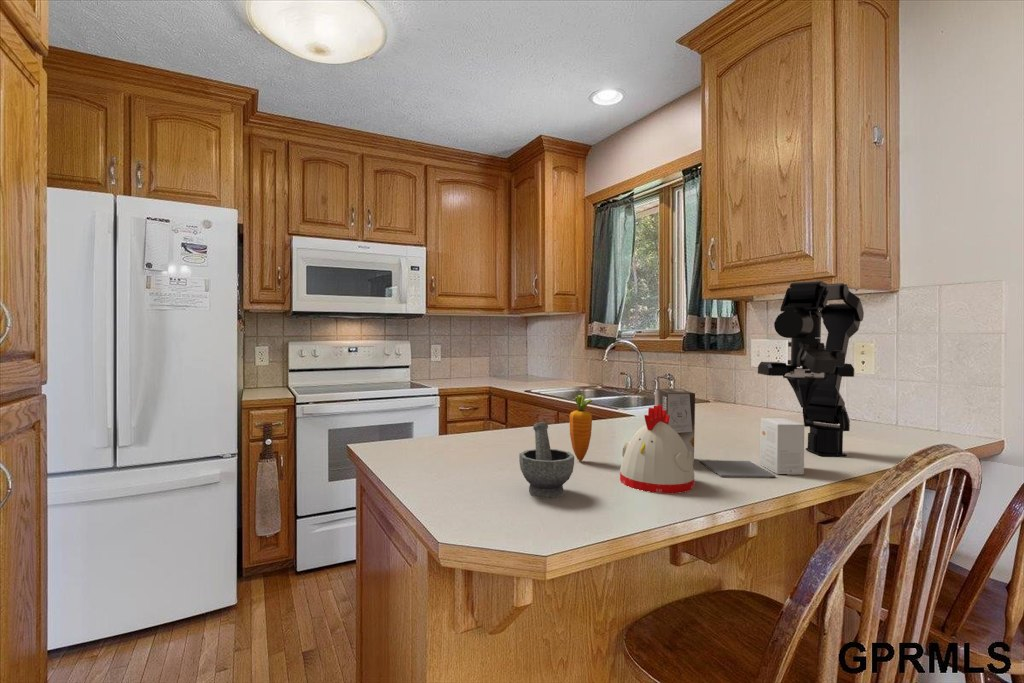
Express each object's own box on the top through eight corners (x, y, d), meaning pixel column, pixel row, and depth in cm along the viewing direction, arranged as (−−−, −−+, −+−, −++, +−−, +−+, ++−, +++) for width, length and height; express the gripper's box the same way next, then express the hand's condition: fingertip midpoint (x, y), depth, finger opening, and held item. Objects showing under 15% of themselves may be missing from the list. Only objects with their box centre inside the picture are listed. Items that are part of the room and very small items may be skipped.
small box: (804, 475, 107) (805, 424, 107) (776, 475, 107) (778, 424, 107) (784, 465, 115) (785, 417, 115) (759, 465, 115) (760, 417, 115)
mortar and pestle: (579, 500, 90) (580, 431, 89) (526, 503, 88) (527, 432, 88) (561, 481, 101) (562, 419, 101) (514, 483, 99) (515, 420, 99)
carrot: (579, 457, 120) (580, 392, 120) (596, 462, 116) (597, 394, 116) (564, 460, 117) (565, 394, 116) (580, 465, 113) (581, 396, 113)
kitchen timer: (606, 481, 101) (607, 404, 101) (643, 469, 111) (644, 398, 111) (672, 498, 91) (674, 413, 91) (706, 483, 101) (708, 406, 101)
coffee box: (695, 467, 113) (696, 393, 112) (666, 467, 112) (667, 392, 112) (679, 456, 122) (680, 388, 122) (652, 456, 122) (653, 388, 121)
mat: (749, 462, 117) (749, 460, 117) (775, 477, 105) (775, 475, 105) (699, 462, 117) (699, 460, 117) (720, 477, 105) (720, 475, 105)
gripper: (782, 338, 108) (780, 413, 109) (872, 339, 108) (870, 414, 108) (757, 337, 119) (755, 405, 120) (839, 338, 119) (837, 406, 120)
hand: (804, 407), depth 117 cm, fingers closed
